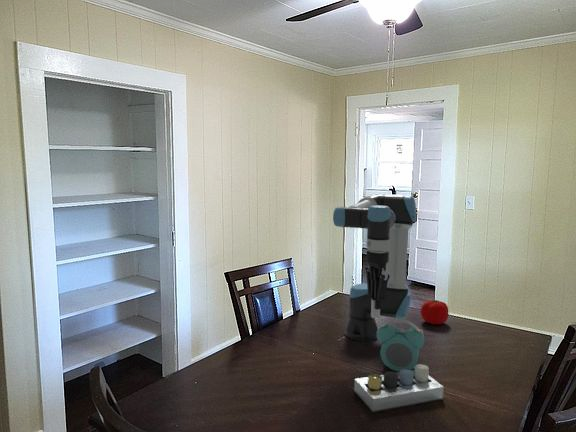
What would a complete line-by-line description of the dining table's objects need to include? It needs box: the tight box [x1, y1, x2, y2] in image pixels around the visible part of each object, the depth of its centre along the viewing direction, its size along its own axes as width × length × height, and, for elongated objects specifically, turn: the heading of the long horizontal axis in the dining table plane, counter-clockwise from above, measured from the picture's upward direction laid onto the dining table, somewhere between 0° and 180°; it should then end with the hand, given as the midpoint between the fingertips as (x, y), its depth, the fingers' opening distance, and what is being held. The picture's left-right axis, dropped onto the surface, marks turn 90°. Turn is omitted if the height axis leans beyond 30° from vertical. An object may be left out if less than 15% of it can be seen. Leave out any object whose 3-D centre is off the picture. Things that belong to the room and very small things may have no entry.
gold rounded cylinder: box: [367, 373, 382, 392], centre depth 140 cm, size 4×4×6 cm
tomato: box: [420, 299, 449, 326], centre depth 209 cm, size 12×13×12 cm
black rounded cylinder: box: [383, 371, 398, 389], centre depth 142 cm, size 4×4×6 cm
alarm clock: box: [377, 317, 425, 372], centre depth 162 cm, size 17×10×20 cm, turn 71°
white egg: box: [414, 363, 430, 384], centre depth 146 cm, size 4×4×6 cm
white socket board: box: [353, 369, 445, 413], centre depth 143 cm, size 13×26×4 cm, turn 107°
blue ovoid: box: [400, 369, 413, 386], centre depth 144 cm, size 4×4×6 cm
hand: (375, 317), depth 149 cm, fingers closed
